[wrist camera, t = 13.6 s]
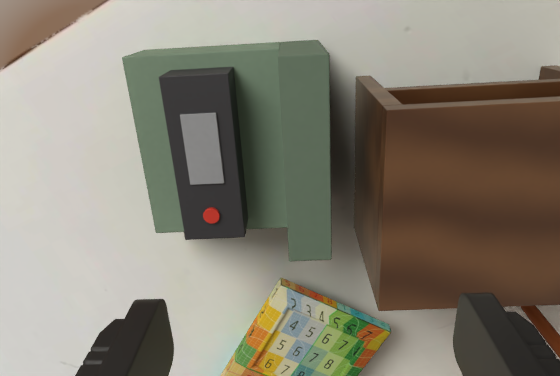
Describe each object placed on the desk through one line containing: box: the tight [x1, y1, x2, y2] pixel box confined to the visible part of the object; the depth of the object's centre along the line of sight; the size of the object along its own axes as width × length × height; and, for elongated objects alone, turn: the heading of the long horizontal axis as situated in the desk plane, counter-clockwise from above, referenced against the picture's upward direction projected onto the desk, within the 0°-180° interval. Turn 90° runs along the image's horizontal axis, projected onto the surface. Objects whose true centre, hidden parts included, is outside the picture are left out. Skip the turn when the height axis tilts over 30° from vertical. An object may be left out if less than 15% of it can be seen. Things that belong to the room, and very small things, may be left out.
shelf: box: [354, 66, 560, 311], centre depth 32 cm, size 14×16×12 cm
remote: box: [159, 67, 248, 240], centre depth 31 cm, size 12×4×3 cm, turn 3°
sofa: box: [122, 40, 332, 261], centre depth 33 cm, size 14×14×10 cm
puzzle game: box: [221, 278, 391, 376], centre depth 45 cm, size 12×5×20 cm
